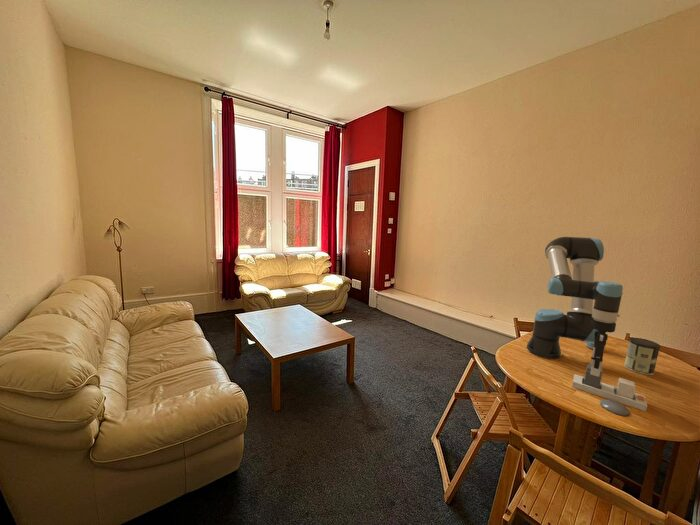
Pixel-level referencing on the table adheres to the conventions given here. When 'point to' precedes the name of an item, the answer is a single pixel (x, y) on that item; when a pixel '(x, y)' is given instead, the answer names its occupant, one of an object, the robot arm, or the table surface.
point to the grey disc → (614, 407)
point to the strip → (610, 393)
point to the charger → (592, 378)
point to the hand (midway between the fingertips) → (594, 368)
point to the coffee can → (642, 356)
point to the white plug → (625, 388)
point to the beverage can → (590, 345)
